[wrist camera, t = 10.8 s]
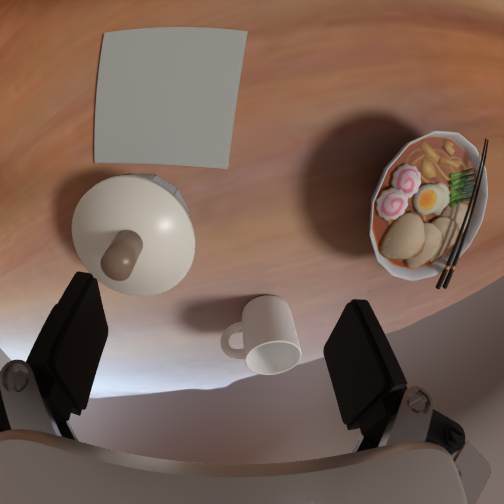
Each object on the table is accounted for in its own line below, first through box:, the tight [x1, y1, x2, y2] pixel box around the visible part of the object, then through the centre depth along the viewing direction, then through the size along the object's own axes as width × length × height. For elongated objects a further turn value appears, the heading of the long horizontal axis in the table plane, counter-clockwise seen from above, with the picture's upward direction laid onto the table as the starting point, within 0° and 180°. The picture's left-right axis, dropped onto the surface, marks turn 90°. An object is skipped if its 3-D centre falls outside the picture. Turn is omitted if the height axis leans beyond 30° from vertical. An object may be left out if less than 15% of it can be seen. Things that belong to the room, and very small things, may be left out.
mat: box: [94, 27, 248, 169], centre depth 29 cm, size 18×18×1 cm
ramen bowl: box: [369, 130, 488, 289], centre depth 34 cm, size 25×23×8 cm
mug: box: [220, 295, 301, 375], centre depth 43 cm, size 12×8×10 cm
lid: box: [72, 175, 196, 296], centre depth 29 cm, size 16×16×6 cm
